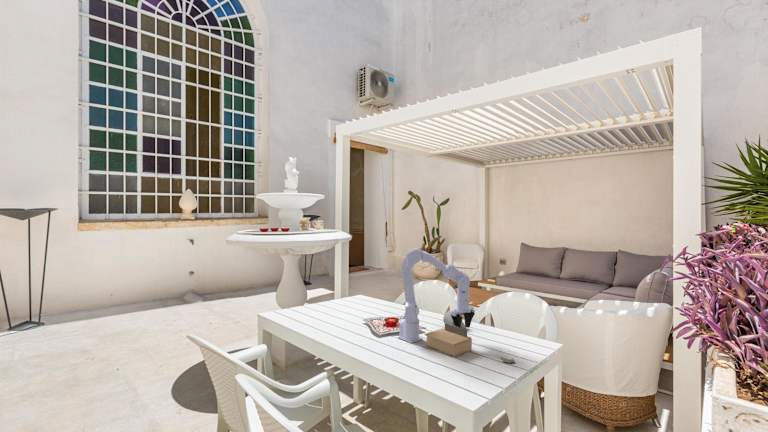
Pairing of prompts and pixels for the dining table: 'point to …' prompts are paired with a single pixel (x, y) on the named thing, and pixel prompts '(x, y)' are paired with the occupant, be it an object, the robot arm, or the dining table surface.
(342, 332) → the dining table surface
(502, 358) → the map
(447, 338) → the carton lid
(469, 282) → the robot arm
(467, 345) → the carton
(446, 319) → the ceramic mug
